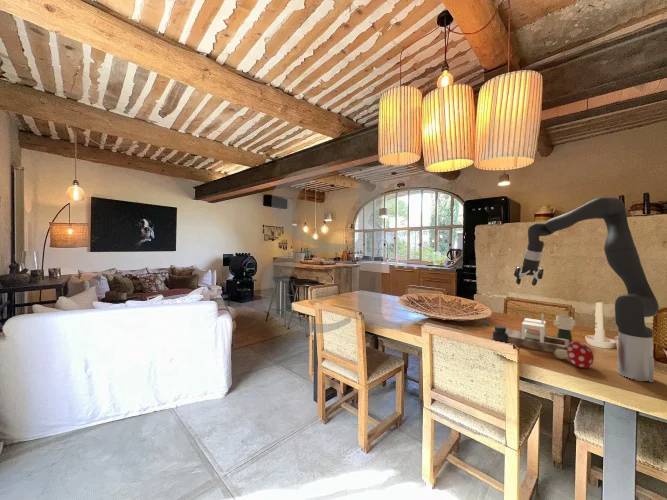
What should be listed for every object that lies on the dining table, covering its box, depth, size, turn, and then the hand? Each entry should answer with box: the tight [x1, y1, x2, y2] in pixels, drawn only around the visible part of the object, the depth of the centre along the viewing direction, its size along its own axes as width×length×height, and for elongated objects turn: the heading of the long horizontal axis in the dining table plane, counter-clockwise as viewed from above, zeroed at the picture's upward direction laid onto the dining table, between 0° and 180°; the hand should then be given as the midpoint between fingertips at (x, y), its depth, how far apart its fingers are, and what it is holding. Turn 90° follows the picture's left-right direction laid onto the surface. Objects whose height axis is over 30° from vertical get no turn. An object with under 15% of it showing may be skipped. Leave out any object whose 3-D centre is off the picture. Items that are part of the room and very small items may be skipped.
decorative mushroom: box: [553, 341, 595, 369], centre depth 120 cm, size 11×11×15 cm
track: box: [506, 328, 570, 354], centre depth 142 cm, size 28×14×4 cm, turn 48°
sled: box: [525, 313, 545, 340], centre depth 142 cm, size 8×8×13 cm
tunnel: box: [521, 317, 547, 343], centre depth 142 cm, size 9×14×8 cm, turn 138°
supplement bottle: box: [491, 324, 508, 343], centre depth 135 cm, size 7×7×12 cm
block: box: [527, 327, 540, 336], centre depth 142 cm, size 5×5×5 cm
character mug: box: [553, 314, 576, 342], centre depth 148 cm, size 11×7×13 cm, turn 85°
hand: (525, 284), depth 156 cm, fingers open, 8 cm apart
